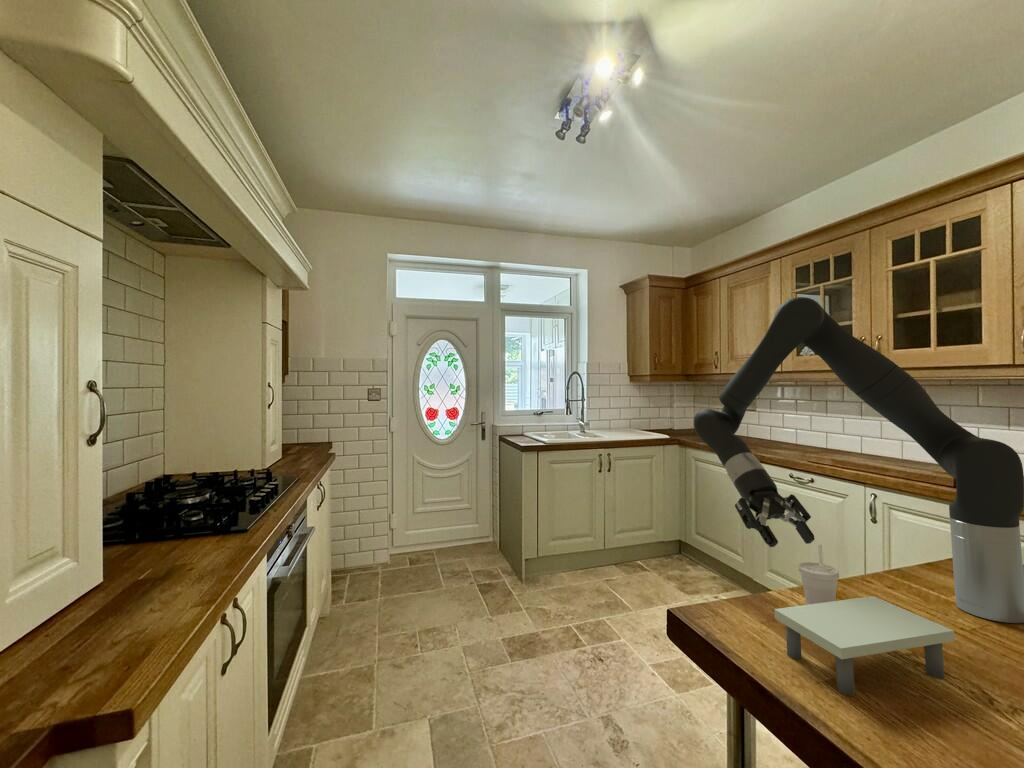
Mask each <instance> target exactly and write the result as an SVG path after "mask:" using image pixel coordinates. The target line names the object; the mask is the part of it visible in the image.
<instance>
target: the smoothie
mask: <svg viewBox="0 0 1024 768" xmlns="http://www.w3.org/2000/svg"><path fill="white" fill-rule="evenodd" d="M823 557H824V556H823V546H822V544H818V562H810V561H808V562H801V563H799V564H798V567H797V568H798V569H797V570H798V572H799V573H800V576H801V577H800V578H801V582H802V587H803V592H804V593H803V594H804V597H805V603H806V605H809V604H817V603H824V602H832V601H836V596H837V587H838V586H837V585H838V579H840V574H839V573H840V571H839V570H838V569H837V568H836V567H833V566H831V565H827V564H824V563H823V562H824V560H823Z"/></svg>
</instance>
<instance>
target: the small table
mask: <svg viewBox="0 0 1024 768" xmlns="http://www.w3.org/2000/svg"><path fill="white" fill-rule="evenodd" d="M774 619H775V620H777V621H778V622H780V623H782V624H783V625H784V626H785V637H786V638H785V640H786V654H787V656H788V657H789V658H791V659H793V660H801V659H802V658H803V657H802V639H801V636H803V637H804V638H806V639H807V640H809V641H811V642H812V643H814V644H816V645H818V646H819V647H821V648H822V649H824V650H826V651H827V652H829V653H830V654H832V655H834V656H835V672H836V687H837V691H838V692H839V693H841V694H843V695H845V696H849V697H850V696H855V695H856V690H855V689H856V687H855V673H854V658H859V657H866V656H872V655H877V654H878V655H879V654H884V653H889V652H896V651H900V650H901V651H902V650H908V649H914V648H920V647H924V662H925V663H924V664H925V673H926V675H928V676H929V677H931V678H933V679H938V680H944V679H945V668H944V667H945V665H944V652H943V651H944V650H943V649H944V648H943V644H945V643H950V642H951V643H952V642H955V641H956V640H955V630H954V629H951V628H949V627H947V626H944V625H942V624H939V623H937V622H935V621H934V620H933V621H932V620H931V619H928V618H926V617H923V616H922V615H918V614H916V613H914V612H913V611H912V612H911V611H909V610H907V609H904V608H902V607H900V606H898V605H895V604H894V603H890V602H889V601H886V600H883V599H881V598H879V597H877V596H874V595H870V596H863V597H862V596H861V597H856V598H849V599H848V598H847V599H841V600H835V601H832V602H824V603H817V604H809V605H807V604H804V605H803V604H802V605H795V606H789V607H787V606H786V607H780V608H774Z"/></svg>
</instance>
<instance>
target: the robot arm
mask: <svg viewBox="0 0 1024 768" xmlns="http://www.w3.org/2000/svg"><path fill="white" fill-rule="evenodd" d="M767 328H768V329H767V331H766V333H765V334H764V336H763V337H762V339H761V341H760V342H759V344H758V345H757V347H756V348H755V349H754V351H753V352H752V353H751V355H749V357H748V358H747V359H746V360H745V361H744V363H743V364H742V365H741V366H740V367H739V369H738V370H737V371H736V372H735V373H734V375H733V376H732V377H731V378H730V380H729V381H728V382H727V383H726V385H725V387H724V388H723V389H722V390H721V391H720V393H719V396H718V399H719V401H720V403H721V404H722V405H723V407H722V409H721V411H718V410H714V409H711V408H703V409H701V410H699V411H698V412H696V414H695V415H694V418H693V427H694V430H695V432H696V434H697V435H698V437H699V438H700V439H701V440H702V441H703V442H704V443H705V445H707V446H708V448H709V449H711V451H713V452H714V453H715V454H716V457H718V459H719V461H720V463H721V464H722V466H723V467H724V469H725V471H726V473H727V476H728V477H729V479H730V481H731V482H732V484H733V486H734V488H735V489H736V491H737V492H738V494H739V495H740V498H739V499H738V501H736V503H735V504H734V507H735V509H736V512H737V513H738V515H739V516H740V520H742V522H743V524H744V526H745V527H746V529H748V530H751V529H753V530H756V531H757V532H758V533H759V534H760V536H761V538H762V540H763V541H764V543H765V544H766V545H768V547H769V548H775V547H776V546H777V545H778V544H779V541H778V539H777V537H776V535H775V534H774V532H773V531H772V529H771V528H770V526H769V525H767V520H772V519H775V520H778V519H780V520H781V521H783V522H786V523H787V522H788V523H789V524H790V525H792V526H793V527H795V530H796V531H797V533H798V535H799V536H800V538H801V539H802V540H803V542H804V543H805V544H811V543H812V542H814V541H815V535H814V533H813V531H812V530H811V529H810V527H809V526H808V525H807V522H808V521H809V520H810V519H811V518H812V516H811V515H810V513H809V512H808V510H807V509H806V508H805V507H804V506H803V504H802V503H801V502H800V501H799V499H798V497H797V496H796V495H794V494H789V496H785V497H783V496H782V495H781V494H780V493H779V492H778V486H777V484H776V483H775V482H774V480H773V479H772V477H771V476H770V474H769V473H768V471H767V470H766V469H765V467H764V466H763V464H762V463H761V462H760V460H759V459H758V458H757V457H756V456H755V455H754V453H753V452H752V451H751V449H750V447H748V445H747V444H746V442H745V441H744V440H743V439H742V438H740V437H739V436H737V435H735V434H736V433H737V431H738V430H739V428H740V425H741V423H742V421H743V419H744V416H745V415H746V412H747V409H748V408H749V407H750V405H751V404H752V403H753V402H754V400H756V398H757V397H758V396H759V395H760V393H761V392H762V391H763V390H764V388H765V386H766V385H767V384H768V382H769V381H770V379H771V378H772V377H773V375H774V374H775V372H776V371H777V369H778V368H779V367H780V366H781V364H782V363H783V362H784V361H785V360H786V359H787V357H789V355H790V354H791V353H792V352H794V350H795V349H796V348H797V347H799V345H801V344H802V345H804V346H805V347H806V348H808V349H809V350H811V351H812V352H813V353H814V354H816V355H817V356H818V357H819V358H821V359H822V361H823V362H824V363H825V364H827V366H828V367H829V368H830V370H832V372H833V373H834V374H835V375H836V377H837V378H838V379H839V380H840V381H841V382H842V383H843V384H844V385H845V386H846V387H847V388H848V389H849V390H850V391H851V392H852V393H854V394H855V395H856V396H857V397H858V398H859V399H861V400H862V401H863V402H864V403H865V404H867V405H868V406H869V407H870V408H872V409H873V410H874V411H876V412H877V413H878V414H880V416H882V417H884V418H885V419H886V420H887V421H889V422H890V423H892V424H893V425H894V426H896V427H897V428H898V429H900V430H902V431H903V432H904V433H906V434H907V435H908V436H909V437H911V438H912V439H913V440H914V441H915V442H916V443H917V444H918V445H919V446H920V447H921V448H922V449H923V450H924V451H925V452H926V453H927V454H928V455H929V456H930V457H931V458H932V459H933V460H934V461H935V462H936V463H937V464H938V466H940V467H941V469H942V470H944V471H945V472H946V473H947V474H948V475H949V476H951V477H953V478H954V479H955V481H956V482H955V484H956V485H955V487H956V488H955V489H956V490H955V491H956V496H955V499H954V500H953V501H952V502H950V503H949V505H948V512H949V513H948V514H949V526H950V527H949V528H950V529H949V530H950V539H951V542H950V543H951V555H952V557H951V558H952V567H953V568H952V570H953V582H954V583H953V584H954V594H955V595H954V597H955V598H954V599H955V605H956V607H957V608H958V609H960V610H962V611H963V612H966V613H968V614H970V615H973V616H976V617H979V618H982V619H986V620H990V621H996V622H1000V623H1007V624H1008V623H1010V624H1022V623H1024V563H1023V552H1022V541H1021V528H1020V516H1021V515H1022V513H1023V511H1024V467H1023V463H1022V460H1021V457H1020V456H1019V454H1018V453H1017V451H1016V450H1015V449H1014V448H1012V447H1011V446H1010V445H1008V444H1006V443H1004V442H1002V441H1000V440H996V439H995V440H994V439H989V438H985V437H984V438H983V437H979V436H977V435H975V434H974V433H972V432H970V431H968V430H967V429H965V427H963V426H962V425H959V424H958V423H957V422H956V421H954V420H953V419H951V418H950V417H949V416H948V415H947V414H945V413H944V412H943V411H942V410H941V409H940V408H939V407H938V406H937V405H936V403H935V402H934V400H933V399H932V397H931V396H930V394H929V393H927V391H926V389H924V387H923V386H922V385H921V383H919V382H918V381H917V379H915V378H914V377H913V376H912V375H910V373H908V372H906V371H905V370H904V369H903V368H901V366H899V365H898V364H897V363H895V362H894V361H893V360H891V359H890V358H889V357H887V356H885V355H884V354H882V353H881V352H879V351H878V350H877V349H875V348H873V347H871V345H868V344H867V343H865V342H864V341H862V340H860V339H859V338H857V337H855V336H854V335H852V334H851V333H849V332H848V331H847V330H846V329H844V327H842V326H841V325H840V324H839V323H838V322H837V321H836V320H834V318H833V317H831V316H830V315H829V313H828V312H827V311H826V310H825V309H824V308H823V307H822V306H821V304H820V303H819V302H818V301H816V300H815V299H812V298H810V297H806V296H805V297H804V296H796V297H793V298H788V300H785V301H784V302H783V303H781V304H780V306H778V308H777V309H776V311H775V313H774V317H773V319H772V321H771V323H770V324H769V327H767ZM752 511H753V512H754V513H753V512H752ZM786 512H787V513H786ZM785 513H786V514H785Z"/></svg>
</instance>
